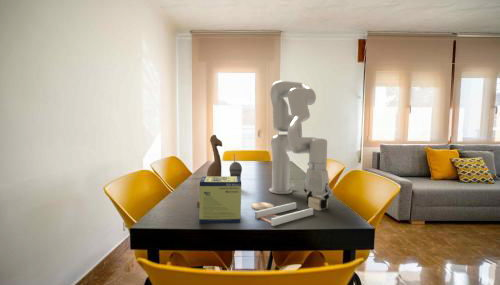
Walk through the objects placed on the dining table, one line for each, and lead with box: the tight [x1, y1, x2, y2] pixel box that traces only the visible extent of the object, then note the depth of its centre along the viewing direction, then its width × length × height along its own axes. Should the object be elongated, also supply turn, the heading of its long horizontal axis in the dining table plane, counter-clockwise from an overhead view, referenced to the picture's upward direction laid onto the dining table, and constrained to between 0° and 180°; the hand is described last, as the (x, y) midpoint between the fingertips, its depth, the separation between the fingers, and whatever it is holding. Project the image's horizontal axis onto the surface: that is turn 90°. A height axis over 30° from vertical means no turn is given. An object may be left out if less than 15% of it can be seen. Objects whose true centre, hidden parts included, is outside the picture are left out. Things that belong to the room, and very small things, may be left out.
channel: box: [254, 201, 314, 227], centre depth 103 cm, size 22×10×2 cm, turn 127°
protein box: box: [198, 175, 242, 224], centre depth 99 cm, size 10×16×16 cm
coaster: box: [250, 201, 275, 211], centre depth 115 cm, size 10×10×1 cm
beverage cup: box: [229, 154, 243, 179], centre depth 146 cm, size 7×7×20 cm
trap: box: [258, 214, 280, 224], centre depth 99 cm, size 7×8×1 cm
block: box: [307, 194, 329, 211], centre depth 115 cm, size 6×6×5 cm
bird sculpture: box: [196, 134, 223, 207], centre depth 117 cm, size 11×12×32 cm
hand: (316, 205), depth 115 cm, fingers open, 7 cm apart
